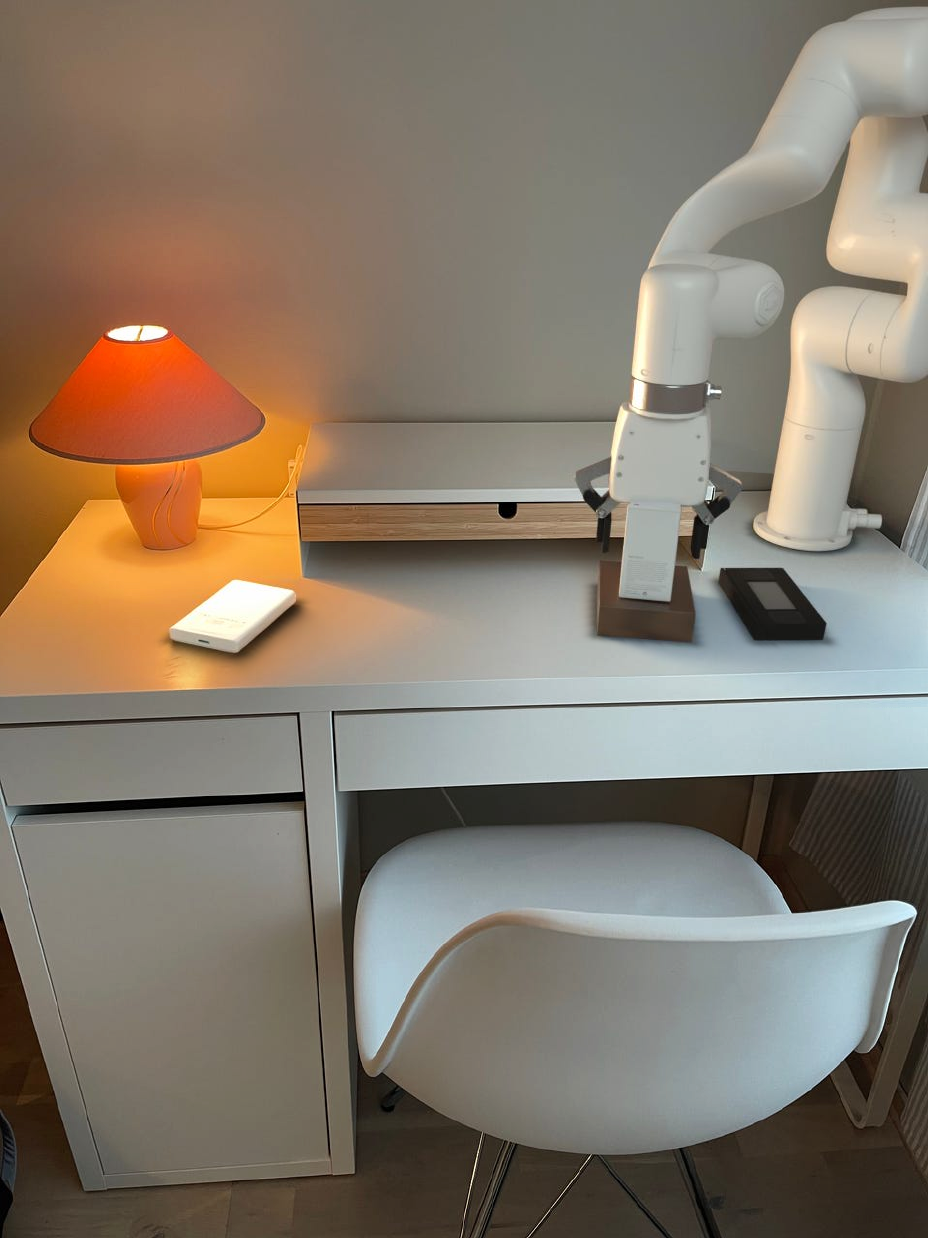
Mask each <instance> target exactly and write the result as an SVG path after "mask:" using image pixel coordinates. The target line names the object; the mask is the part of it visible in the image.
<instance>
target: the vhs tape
mask: <svg viewBox="0 0 928 1238" xmlns="http://www.w3.org/2000/svg"><path fill="white" fill-rule="evenodd" d="M718 584H719V586H720V587H721V589H722V591H723V592H724V593H725V595H726V597H727V599H728V600H729V601H730V603H731V605H732V606H733V608H734V610H735V611H736V612H737V614H738V616H739V617H740V618H741V621H742V622H743V624H744V625H745V627H746V628H747V630H748V631H749V633H750V635H751V636H752V638H753V639H754V641H820V640H821V641H823V640H824V637H825V633H826V628H827V621H825V619H824V618H823V616H822V615H821V613H820V612H819V611H818V610H817V609H816V608H815V607H814V605H813V604H812V603H811V602H810V600H809V599H808V598H807V596H806V595H805V594H804V592H803V591H802V590H801V589H800V587H799V586H798V585H797V583H796V582H795V581H794V579H792V577H791V576H790V575H789V574H788V572H787V571H786V570H785V568H783V567H720V569H719V576H718Z"/></svg>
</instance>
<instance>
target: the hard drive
mask: <svg viewBox="0 0 928 1238" xmlns="http://www.w3.org/2000/svg"><path fill="white" fill-rule="evenodd" d="M296 603H297V593H296V592H295V590H291V589H288V588H287V589H286V588H281V587H276V586H270V585H267V584H266V585H265V584H260V583H255V582H250V581H244V580H240V579H239V580H238V579H234V580H231V582H230V581H229V583H228V584H226V585H225V586H224V587H222V588H221V589H220V590H219V591H217V592H216V593H214V594H213V595H212V596H211V597H209V598H208V599H207V600H205V601H204V602H202V604H200V605H199V606H198V607H196V608H195V609H193V610H192V611H191V612H190V613H188V614H187V615H186V616H185V617H183V618H181V619H180V620H179V621H178V622H176V623H175V624H174V625H172V626H171V627H170V628H169V629H168V632H169V638H170V639H171V640H173V641H175V642H179V643H184V644H189V645H193V646H199V647H204V648H208V649H212V650H218V651H221V652H227V653H232V654H235V653H239V652H240V651H241V650H242V649H244V648H245V647H246V646H248V644H250V643H251V642H252V641H253V640H254V639H255V638H257V636H258V635H259V636H260V634H261V633H262V632H264V631H265V630H266V629H267V628H268V627H269V626H270V625H272V623H274V622H275V621H277V619H278V618H280V617H281V615H283V614H284V613H285V612H286V611H287V610H289V608H291V607H292V606H293V605H295V604H296Z"/></svg>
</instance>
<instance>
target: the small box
mask: <svg viewBox="0 0 928 1238" xmlns="http://www.w3.org/2000/svg"><path fill="white" fill-rule="evenodd" d="M681 518H682V507H681V504H676V503H662V502H629V503H627V506H626V517H625V525H624V526H625V528H624V538H623V548H622V556H621V557H622V558H621V562H622V567H621V578H620V589H619V597H622V598H634V599H645V600H656V601H667V602H669V601H671V593H672V585H673V577H674V569H675V565H676V559H677V551H678V543H679V535H680V527H681V520H682V519H681Z"/></svg>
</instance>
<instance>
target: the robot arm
mask: <svg viewBox="0 0 928 1238" xmlns="http://www.w3.org/2000/svg"><path fill="white" fill-rule="evenodd" d="M777 95H778V96H777V97H776V99H775V101H774V103H773V105H772V107H771V109H770V111H769V113H768V115H767V117H766V119H765V121H764V122H763V125H762V126H761V129H760V130H759V132H758V134H757V136H756V138H755V141H754V142H753V144H752V146H751V147H750V149H749V150H748V151H747V152H746V153H745V154H744V155H743V156H741V157H740V158H739V159H736V161H734V162H732V163H730V165H728V166H727V167H725V168H723V169H722V170H721V171H720V172H718V173H717V174H716V175H714V176H713V177H712V178H711V179H710V180H708V181H707V182H706V183H705V184H703V185H702V186H701V187H700V188H698V190H696V191H695V192H694V193H693V194H692V195H690V196H689V198H687V199H686V200H685V202H683V204H681V205H680V207H679V208H678V209H677V210H676V212H675V213H674V215H673V216H672V218H671V220H670V221H669V223H668V225H667V227H666V228H665V231H664V233H663V234H662V236H661V239H660V241H659V242H658V243H657V247H656V249H655V250H654V252H653V254H652V257H651V259H650V261H649V264H648V267H647V269H646V270H645V271H644V273H643V274H642V277H641V279H640V286H639V293H638V302H637V315H636V325H635V333H634V334H635V336H634V343H633V344H634V345H633V356H632V366H631V375H630V376H631V377H630V387H629V398H628V400H626V401H623V402H622V403H621V405H620V407H619V410H618V414H617V418H616V422H615V426H614V432H613V437H612V443H611V444H612V445H611V452H610V456H608V457H607V458H605V459H602V460H599V461H597V462H595V463H593V464H589V465H588V466H586V467H583V468H581V469H578V470H576V471H575V473H574V482H575V483H576V485H577V487H578V490H579V492H580V494H581V496H582V499H583V501H584V502H585V504H587V505H588V506H589V508H590V509H592V511H593V512H594V513H595V515H596V517H597V523H596V536H595V543H601V553H602V554H607V553H609V552H610V543H611V542H610V541H611V533H612V521H613V520H612V517H613V516H612V512H613V510H615V509H616V508H617V507H618V506H619V505H620V504H621V503H622V504H628V503H629V502H662V503H676V504H681V508H690V507H691V508H692V509H693V511H694V512H695V514H696V515H695V516H694V518H693V525H692V531H691V538H690V539H691V540H690V547H689V549H690V553H691V558H693V559H694V560H700V556H701V550H707V547H708V540H709V533H710V525H712V524H713V523H714V521H715V520H716V519H717V518H718V517H720V516H721V515H722V514H724V513H725V512H727V511H728V510H729V509H730V507H731V504H732V503H733V502H734V501H735V500H736V499H737V498H738V496H739V494H740V493H741V491H742V490H743V484H742V481H741V480H740V479H738V478H737V477H735V476H733V475H731V474H730V473H728V472H726V471H724V470H723V469H721V468H720V467H718V466H716V465H714V464H713V463H711V451H712V416H711V415H712V414H711V409H710V407H709V406H707V404H709V401H713V400H721V398H722V391H723V390H722V388H723V387H722V386H721V385H715V384H714V383H711V381H709V373H710V366H711V358H712V351H713V344H714V342H715V340H745V339H750V338H754V337H757V336H759V335H760V334H762V333H765V331H767V330H768V329H769V328H770V327H772V325H773V324H775V322H776V320H777V319H778V317H779V316H780V315H781V312H782V309H783V305H784V301H785V287H784V281H783V280H782V278H781V276H780V274H779V273H778V271H776V270H775V269H774V268H773V267H771V266H770V265H769V264H766V263H764V262H762V261H758V260H754V259H749V258H741V257H734V256H728V255H723V254H715V253H710V251H711V250H712V249H713V248H714V247H715V246H716V245H717V243H718V242H720V241H721V240H722V239H724V238H725V237H726V236H727V235H728V234H729V233H732V232H733V231H734V230H736V229H738V228H740V227H741V226H744V225H745V224H748V223H750V222H752V221H755V220H758V219H761V218H764V217H767V216H770V215H772V214H776V213H779V212H782V211H785V210H787V209H789V208H793V207H795V206H798V205H801V204H803V203H806V202H808V201H810V200H813V199H814V198H815V197H817V196H818V195H819V194H820V193H822V192H823V191H824V190H825V188H826V187H827V185H828V183H829V181H830V180H831V177H832V176H833V173H834V171H835V169H836V167H837V165H838V164H839V161H840V159H841V158H842V155H843V154H844V152H845V150H846V148H847V146H848V144H849V149H848V154H847V158H846V159H847V160H846V163H845V167H844V172H843V174H842V175H843V176H842V179H841V183H840V187H839V190H838V191H839V192H838V194H837V198H836V203H835V206H834V210H833V213H832V218H831V222H830V227H829V230H828V233H827V240H826V248H825V249H826V250H825V251H826V252H825V253H826V254H825V255H826V259H827V261H828V263H829V265H830V266H831V267H832V268H833V269H834V270H837V271H838V272H840V273H844V274H848V275H853V276H858V277H865V278H870V279H878V280H883V281H890V282H891V281H893V282H900V283H905V284H907V291H906V295H904V294H896V293H890V292H883V291H880V290H872V289H868V288H867V289H866V288H858V287H851V286H842V285H830V286H822V287H819V288H815V289H814V290H811V291H810V292H808V293H807V294H806V295H804V296H803V298H802V299H800V301H799V302H798V304H797V306H796V307H795V310H794V312H793V315H792V319H791V324H790V374H789V385H788V391H787V397H786V404H785V410H784V415H783V421H782V427H781V432H780V433H781V434H780V439H779V444H778V450H777V456H776V462H775V467H774V472H773V479H772V484H771V490H770V491H771V492H770V496H769V502H768V508H767V510H766V511H765V510H764V511H762V512H760V513H759V514H757V515H756V516H755V517H754V520H753V525H752V526H753V531H754V532H755V534H757V535H758V536H759V537H760V538H762V539H763V540H765V541H767V542H769V543H771V544H774V545H777V546H780V547H782V548H783V547H784V548H787V549H793V550H798V551H806V552H829V551H836V550H840V549H842V548H844V547H847V546H848V545H849V544H850V543H851V541H852V539H853V531H854V530H855V529H856V528H864V529H872V530H873V529H874V530H879V529H881V527H882V525H883V524H882V523H883V515H882V514H878V513H868V509H866V508H851V507H850V506H849V505H848V503H847V501H848V497H849V492H850V488H851V482H852V478H853V473H854V469H855V464H856V459H857V454H858V449H859V445H860V441H861V435H862V430H863V425H864V421H865V417H866V410H867V409H866V408H867V407H866V406H867V405H866V397H865V393H864V389H863V386H862V383H861V381H860V379H859V376H858V375H861V376H864V377H865V376H866V377H870V378H874V379H875V378H876V379H879V380H885V381H890V382H896V383H903V384H909V383H910V384H911V383H916V382H919V381H922V380H923V379H924V378H926V377H927V376H928V192H927V193H926V192H920V187H921V182H922V179H923V175H924V172H925V168H926V164H927V160H928V129H927V126H926V123H925V120H924V117H923V116H928V6H899V7H898V6H896V7H895V6H894V7H885V8H876V9H871V10H866V11H862V12H860V13H857V14H854V15H852V16H851V17H849V18H848V19H846V20H844V21H843V20H842V21H837V22H833V23H830V24H827V25H824V26H823V27H820V28H819V29H817V31H816V32H814V33H813V34H812V35H811V36H810V37H809V38H808V40H807V41H806V42H805V44H804V45H803V47H802V49H801V51H800V52H799V55H798V56H797V58H796V60H795V62H794V64H793V66H792V68H791V70H790V72H789V73H788V76H787V78H786V80H785V81H784V84H783V85H782V87H781V89H780V91H779V93H778V94H777ZM606 475H608V480H607V481H608V487H609V488H608V490H606V492H605V493H604V494H603V495H600V494H599V493H598V492H597V490H595V488H593V485H592V483H591V482H592V481H593V480H596V479H599V478H601V477H602V476H606ZM709 480H710V481H711V482H714V483H715V484H717V485H719V486H720V487H722V488H723V490H722V492H721V494H719V495H718V496H717V497H715V498H714V499H713V500H711V501H710V502H708V500H706V499H707V493H708V487H709Z"/></svg>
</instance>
